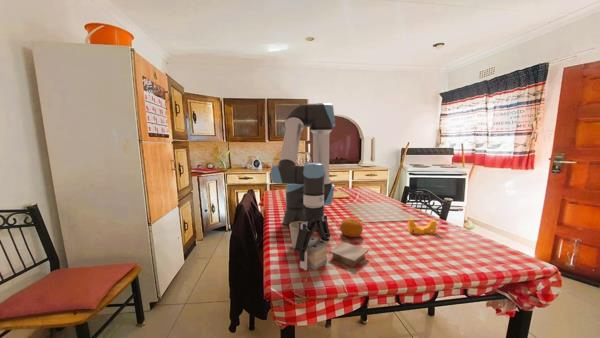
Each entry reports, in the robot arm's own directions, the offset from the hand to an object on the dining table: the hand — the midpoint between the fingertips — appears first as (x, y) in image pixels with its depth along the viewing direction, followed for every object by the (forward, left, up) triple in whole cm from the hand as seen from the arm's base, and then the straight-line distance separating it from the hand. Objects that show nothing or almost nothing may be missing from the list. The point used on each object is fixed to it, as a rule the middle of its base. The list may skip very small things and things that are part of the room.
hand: (313, 262), depth 84 cm
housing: (0, 0, 0) cm, 0 cm away
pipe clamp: (+23, +59, -1) cm, 63 cm away
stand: (+8, +12, 0) cm, 14 cm away
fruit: (-2, +32, 0) cm, 32 cm away
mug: (-15, +7, 0) cm, 17 cm away
